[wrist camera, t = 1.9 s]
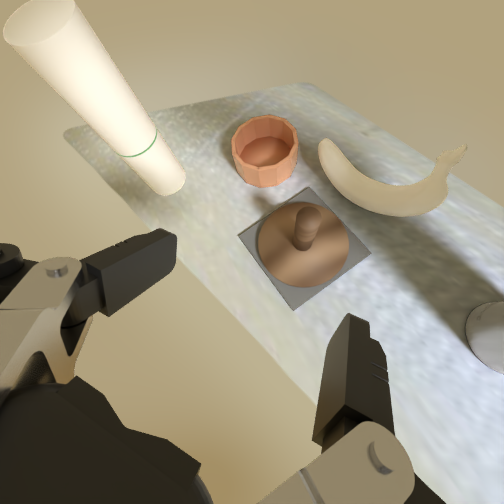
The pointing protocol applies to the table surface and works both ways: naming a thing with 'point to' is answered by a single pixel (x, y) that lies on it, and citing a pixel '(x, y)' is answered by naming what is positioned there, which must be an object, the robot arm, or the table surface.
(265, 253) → the walnut lid
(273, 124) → the terracotta bowl
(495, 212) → the table surface
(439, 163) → the banana
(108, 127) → the cylindrical container
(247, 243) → the rubber mat
